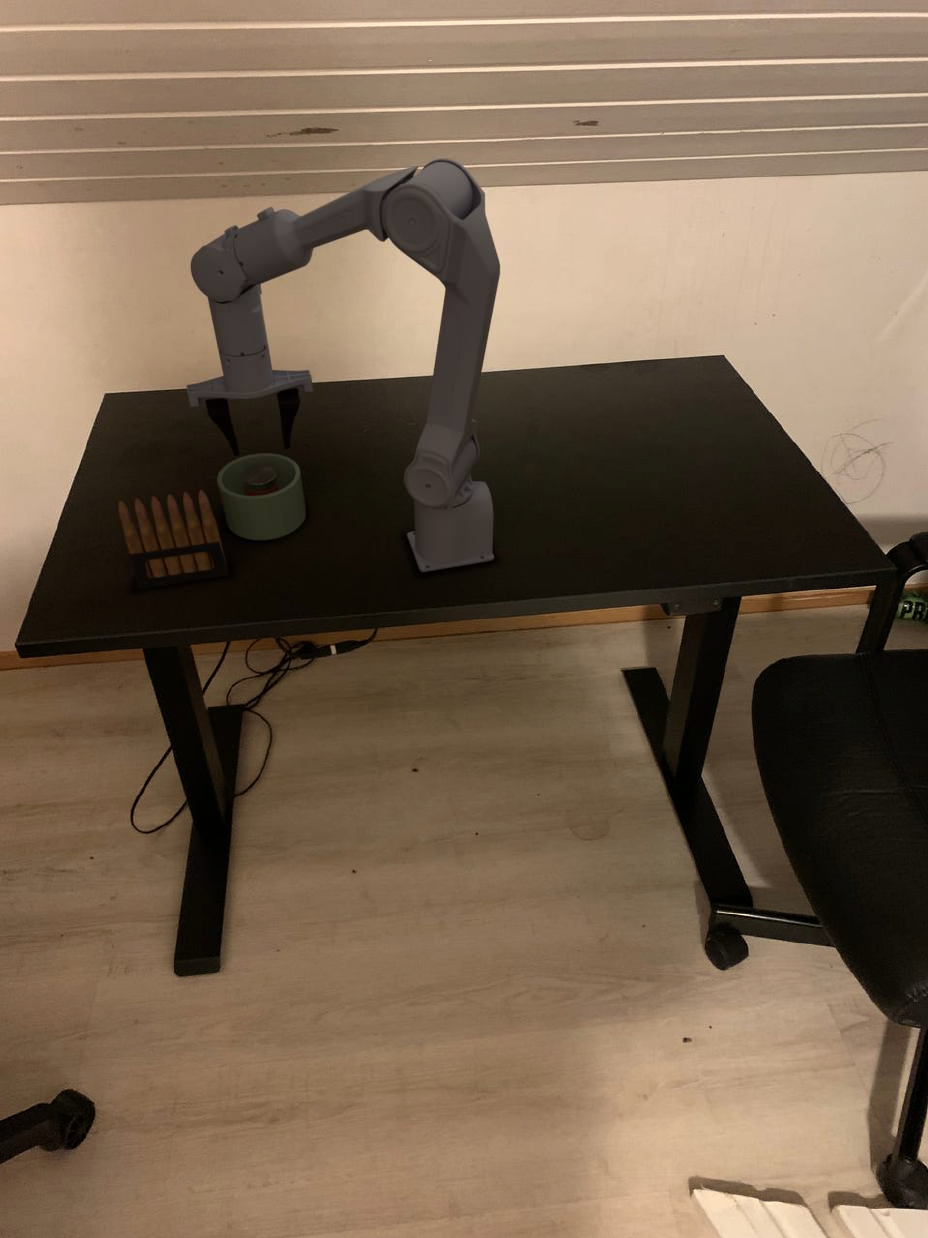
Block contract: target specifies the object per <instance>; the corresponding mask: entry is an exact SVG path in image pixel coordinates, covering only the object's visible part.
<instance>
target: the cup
mask: <svg viewBox="0 0 928 1238" xmlns="http://www.w3.org/2000/svg"><path fill="white" fill-rule="evenodd" d="M257 465H266V466H270V467H272V468H273V469H274V470H275V471H276V475H277V480H278V486H279V491H277V492H274V493H271V494H267V495H260V496H245V495H244V490H243V485H242V479H241V474H242V473H243V471H244V470H246V469H247V468H250V467H252V466H257ZM216 480H217V481H216V483H217V488H218V492H219V497H220V500H221V504H222V505H221V506H222V509H223V510H222V511H223V515H224V518H225V522H226V525H227V528H228V529H229V530H230V531H231V532H232V533H233V534H234V535H236V536H237V537H239V538H243V539H245V540H246V539H247V540H251V541H269V540H274V539H279V538H283V537H285V536H287V535H290V534H291V533H293V532H294V531H296V530H297V529H299V528H300V527H301V526H302V524H303V523H304V521H305V519H306V517H307V511H306V510H307V507H306V500H305V494H304V493H305V492H304V488H303V487H304V486H303V480H302V474H301V469H300V466H299V464H297V463H296V461H295V460H293V459H291V458H290V457H288V456H285V455H282V454H277V453H270V452H269V453H268V452H261V453H252V454H247V455H244V456H240V457H238V458H236V459H234V460H232V461H230V462H229V463H227V464H225V465H224V466H223V467H222V468H221V470H220V471H219V472H218V475H217V478H216Z"/></svg>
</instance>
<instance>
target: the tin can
mask: <svg viewBox="0 0 928 1238" xmlns="http://www.w3.org/2000/svg"><path fill="white" fill-rule="evenodd" d="M241 479H242V485H243V490H244V495H245V496H260V495H267V494H271V493H274V492H277V491H279V486H278V480H277V475H276V471H275V470H274V469H273V468H272V467H270V466H266V465H257V466H252V467H250V468H247V469H246V470H244V471H243V473H242V474H241Z"/></svg>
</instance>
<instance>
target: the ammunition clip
mask: <svg viewBox="0 0 928 1238" xmlns="http://www.w3.org/2000/svg"><path fill="white" fill-rule="evenodd" d="M150 501H151V503H150V504H151V513H152V517H153V521H154V526H153V524H152V523H151V520H150V517H149V515H148V512H147V510H146V507H145V505H144V504H143V502H142V501H141V499H139V498H138V497H136V498H135V501H134V510H135V515H136V519H137V524H138V528H137V527H136V525H135V523H134V519H133V518H132V515H131V512H130V511H129V509H128V507H127V505H126V504H125V503H124V501H122V500H119V501H118V515H119V518H120V523H121V527H122V534H123V538H124V540H125V544H126V547H127V550H128V554H129V558H130V562H131V566H132V569H133V573H134V578H135V581H136V585H137V588H138V589H139V590H140V589H147V588H153V587H160V586H167V585H173V584H180V583H186V582H193V581H199V580H205V579H213V578H218V577H225V576H229V573H230V572H229V571H230V570H229V564H228V560H227V557H226V554H225V550H224V547H223V544H222V541H221V537H220V532H219V528H218V525H217V520H216V517H215V516H214V513H213V510H212V508H211V503H210V501H209V498H208V496H207V495H206V493H205V491H204V490H203V489H200V490H199V491H198V506H199V510H200V516H201V519H199V516H198V514H197V510H196V508H195V505H194V502H193V499H192V498H191V496H190V494H189V493H188V492H187V491H184V492H183V495H182V504H183V510H184V516H185V521H184V519H183V517H182V514H181V512H180V509H179V508H180V507H179V505H178V504H177V501H176V499H175V497H173V495H172V494H171V493H168V494H167V499H166V501H167V503H166V504H167V511H168V516H169V520H170V524H169V523H168V521H167V518H166V515H165V512H164V509H163V507H162V505H161V502H160V501H159V500H158V498H157V497H156V496H155V495H153V496H151V500H150Z"/></svg>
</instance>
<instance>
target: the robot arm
mask: <svg viewBox="0 0 928 1238" xmlns="http://www.w3.org/2000/svg"><path fill="white" fill-rule="evenodd" d="M419 167H420V166H419V165H415V166H410V167H405V168H404V169H401V170H398V171H396V172H393V173H390V174H387V175H385V176H382V177H379V178H377V179H374V180H372V181H369V182H368V183H365V184H364V185H362V186H359V187H357V188H355V189H353V190H352V191H349V192H347V193H346V194H345V193H344V194H343V195H342V196H339V197H337V198H335V199H334V200H331V201H329V202H327V203H325V204H323V205H321V206H319V207H317V208H315V209H313V210H311V211H309V212H307V213H305V214H302V215H299V214H297V213H296V212H294V211H292V210H290V209H287V208H286V209H285V208H282V209H279V210H275V209H274V207H273V206H269V207H268V208H265V209H263V210H262V211H260V212H259V213H257V214H256V218H257V219H256V220H255V221H252V222H251V223H248V224H247V225H244V226H241V227H239V226H238V225H236V224H234V225H232V226H230V227H228V228H227V229H225V230H224V233H223V234H221V235H220V236H218V237H216V238H215V239H214V240H211V241H210V242H208V243H207V244H205V245H202V246H201V247H200V248H199V249H198V250H197V251H196V252H194V254H193V256H192V257H191V260H190V273H191V277H192V280H193V282H194V284H195V286H196V287H197V288H198V290H199V291H200V292H201V293H202V294H203V295H204V296H205V297H207V301H208V306H209V307H208V308H209V310H210V311H209V312H210V316H211V322H212V326H213V327H212V328H213V332H214V337H215V341H216V347H217V351H218V356H219V361H220V366H221V370H222V375H221V376H218V377H215V378H211V379H207V380H204V381H201V382H200V381H199V382H196V383H191V384H190V383H189V384H186V394H187V397H188V401H189V406H190V408H195V407H199V406H201V404H205V405H206V411H207V415H208V417H209V418H210V420H211V421H212V422H213V423H214V424H215V425H216V426H217V427H218V429H219V430H220V431H221V433H222V434H223V436H224V437H225V440H226V441H227V443H228V444H229V447H230V449H231V450H232V454H233V456H234V457H238V456H241V454H240V448H239V443H238V438H237V434H236V431H235V429H234V425H233V421H232V417H231V416H232V415H231V412H230V411H231V410H230V406H229V400H254V399H259V398H263V397H266V396H269V395H275V394H276V398H277V403H278V404H277V405H278V410H279V414H280V415H279V416H280V430H281V431H280V432H281V438H282V442H283V446H284V449H285V450H289V449H291V437H292V431H293V427H294V421H295V419H296V415H297V414H298V411H299V409H300V405H301V398H300V394H299V391H303V392H304V393H311V392H314V385H313V376H312V375H311V371H310V369H303V370H286V369H273V365H272V358H271V353H270V347H269V340H268V335H267V328H266V322H265V315H264V310H263V309H264V308H263V303H262V302H263V301H262V296H261V295H262V294H263V291H262V284H264V283H267V282H270V281H272V280H274V279H277V278H279V277H281V276H284V275H286V274H289V273H291V272H294V271H296V270H299V269H302V268H304V267H306V266H307V265H309V263H310V262H311V260H312V258H313V253H314V249H316V248H318V247H321V246H325V245H327V244H330V243H332V242H335V241H338V240H340V239H343V238H346V237H349V236H352V235H355V234H357V233H360V232H364V231H366V230H368V231H369V233H371V235H373V236H374V237H375V238H376V239H377V240H378V241H379V242H382V243H384V242H385V241H387V240H388V239H389V241H390V242H391V243H392V244H393V245H394V247H396V248H397V249H398V250H399V251H400V252H402V253H403V254H404V255H406V257H408V258H409V259H411V260H412V261H414V262H415V263H416V264H417V265H418V266H420V267H421V268H423V269H424V270H425V271H427V272H428V273H430V274H431V275H432V276H433V277H435V279H437V280H439V281H440V283H441V284H442V286H443V287H444V297H443V303H442V311H441V318H440V323H439V331H438V337H437V344H436V352H435V358H434V366H433V372H432V379H431V387H430V393H429V400H428V405H427V406H428V407H427V413H426V421H425V424H424V427H423V430H422V433H421V435H420V437H419V439H418V442H417V445H416V447H415V453H414V458H413V460H412V461H411V463H410V464H409V465H408V466H407V467H406V468H405V471H404V473H403V483H404V488H405V489H406V491H407V493H408V494H409V496H410V497H411V498H412V500H413V519H414V520H413V521H414V530H413V531H409V532H407V533H406V537H407V540H408V543H409V545H410V548H411V550H412V553H413V556H414V559H415V561H416V564H417V567H418V569H419V571H420V572H421V573H426V572H433V571H438V570H439V571H440V570H445V569H452V568H457V567H462V566H463V567H464V566H469V565H474V564H480V563H486V562H491V561H494V560H495V555H494V553H493V547H494V543H493V542H494V505H493V499H492V494H491V491H490V488H489V486H488V484H487V483H486V482H485V481H475V480H473V479H472V475H471V469H472V468H473V467H474V466H475V465H476V464H477V462H478V460H479V459H480V454H481V447H480V443H479V441H478V436H477V429H478V421H477V420H475V419H474V414H475V408H476V403H477V398H478V392H479V388H480V382H481V376H482V373H483V365H484V362H485V361H484V360H485V356H486V352H487V351H486V350H487V346H488V339H489V336H490V335H489V334H490V329H491V325H492V324H491V323H492V320H493V319H492V318H493V313H494V309H495V303H496V298H497V292H498V287H499V283H500V282H499V281H500V277H501V263H500V259H499V256H498V255H499V254H498V251H497V249H496V245H495V242H494V238H493V235H492V231H491V228H490V225H489V221H488V217H487V215H486V214H487V213H486V193H485V191H484V190H483V189H482V187H481V186H480V185H479V183H478V182H477V181H476V179H475V177H474V176H472V174H471V172H469V170H468V169H467V168H466V167H465V166H464V165H463V164H462V163H460V162H458V161H456V160H455V159H452V158H444V157H442V158H441V157H440V158H436V159H433V160H432V161H428V163H427V164H425V165H424V166H423V168H422V169H421V170H420V171H419V172H418V173H417V174H415V173H416V172H417V170H418V169H419Z"/></svg>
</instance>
